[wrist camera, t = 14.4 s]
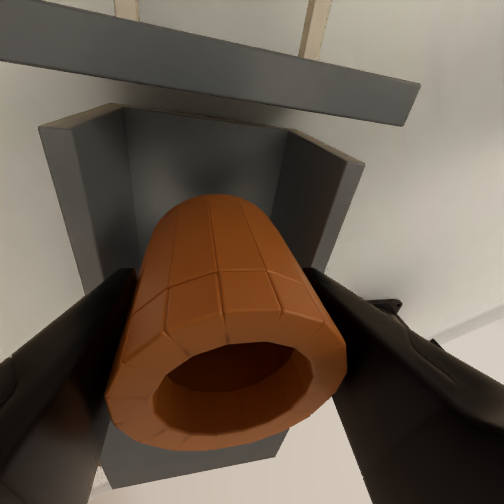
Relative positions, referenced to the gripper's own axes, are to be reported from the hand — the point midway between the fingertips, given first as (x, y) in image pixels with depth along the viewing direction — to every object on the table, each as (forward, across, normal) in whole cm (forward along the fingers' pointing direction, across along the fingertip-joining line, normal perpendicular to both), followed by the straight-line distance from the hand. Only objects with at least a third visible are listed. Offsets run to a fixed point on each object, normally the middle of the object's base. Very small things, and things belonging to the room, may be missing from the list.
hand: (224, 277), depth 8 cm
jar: (+2, 0, +1) cm, 3 cm away
